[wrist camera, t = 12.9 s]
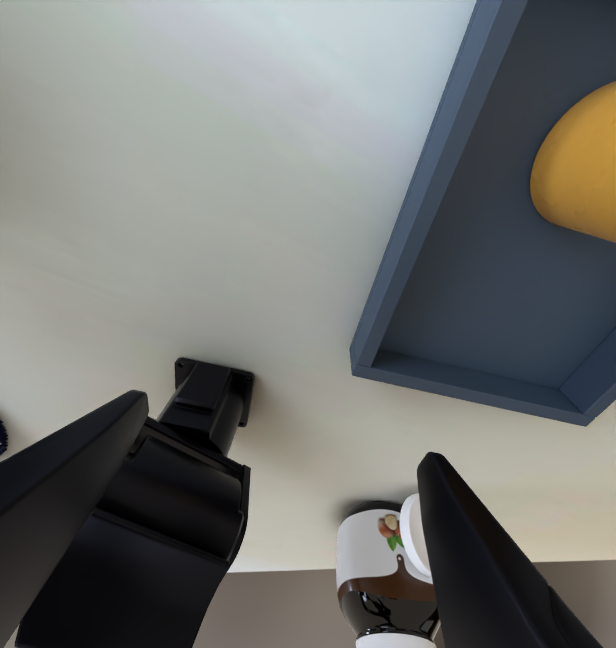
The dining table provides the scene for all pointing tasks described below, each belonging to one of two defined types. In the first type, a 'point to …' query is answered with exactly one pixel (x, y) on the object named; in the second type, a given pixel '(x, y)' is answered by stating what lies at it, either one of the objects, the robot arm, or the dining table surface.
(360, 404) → the dining table surface
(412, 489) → the dining table surface
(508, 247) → the blue tray
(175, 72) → the dining table surface
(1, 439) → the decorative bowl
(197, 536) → the robot arm
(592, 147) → the tapered yellow cylinder
